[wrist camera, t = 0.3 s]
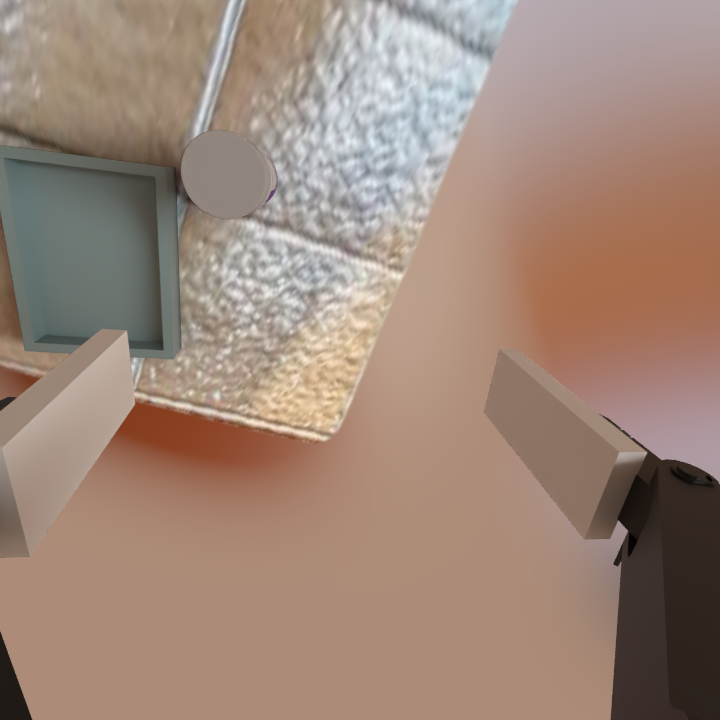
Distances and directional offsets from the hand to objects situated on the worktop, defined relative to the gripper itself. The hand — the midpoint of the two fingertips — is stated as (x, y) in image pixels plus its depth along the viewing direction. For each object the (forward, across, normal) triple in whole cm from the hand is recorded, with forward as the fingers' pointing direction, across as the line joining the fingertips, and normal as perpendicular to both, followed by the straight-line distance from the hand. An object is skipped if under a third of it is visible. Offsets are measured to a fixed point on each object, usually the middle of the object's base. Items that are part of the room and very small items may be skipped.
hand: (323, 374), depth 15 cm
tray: (+27, -17, -2) cm, 32 cm away
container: (+27, -5, +6) cm, 28 cm away
